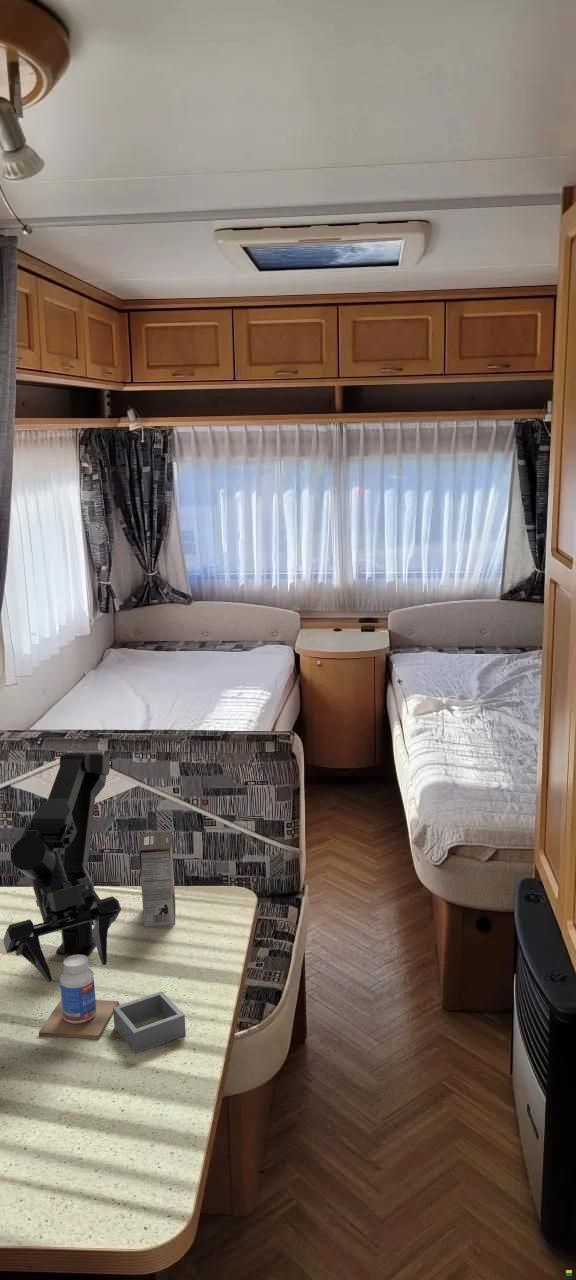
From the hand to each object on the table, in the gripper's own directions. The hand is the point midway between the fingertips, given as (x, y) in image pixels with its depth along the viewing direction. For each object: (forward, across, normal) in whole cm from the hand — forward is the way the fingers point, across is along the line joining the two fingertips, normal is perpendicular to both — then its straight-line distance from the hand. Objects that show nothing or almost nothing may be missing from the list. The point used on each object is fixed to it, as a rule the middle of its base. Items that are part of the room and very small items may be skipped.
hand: (78, 972), depth 157 cm
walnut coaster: (+6, 0, +7) cm, 9 cm away
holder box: (+12, +8, 0) cm, 15 cm away
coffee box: (-13, +26, +26) cm, 39 cm away
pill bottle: (+5, 0, +7) cm, 8 cm away
